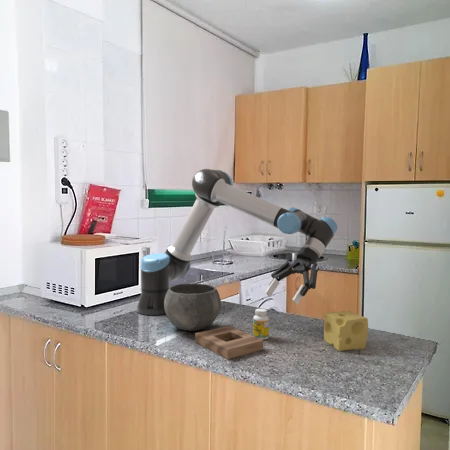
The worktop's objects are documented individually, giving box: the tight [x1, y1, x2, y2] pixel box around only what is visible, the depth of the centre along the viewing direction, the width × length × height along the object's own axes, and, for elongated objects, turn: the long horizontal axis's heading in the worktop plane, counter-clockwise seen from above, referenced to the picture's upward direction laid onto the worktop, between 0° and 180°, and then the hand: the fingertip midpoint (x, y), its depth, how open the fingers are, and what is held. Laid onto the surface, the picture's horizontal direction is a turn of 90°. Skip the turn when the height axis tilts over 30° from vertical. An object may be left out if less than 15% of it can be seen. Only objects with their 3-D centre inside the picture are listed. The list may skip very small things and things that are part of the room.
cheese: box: [323, 310, 369, 352], centre depth 138 cm, size 10×11×10 cm
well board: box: [194, 325, 264, 360], centre depth 137 cm, size 18×14×3 cm
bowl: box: [164, 283, 222, 332], centre depth 154 cm, size 20×20×15 cm
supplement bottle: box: [252, 308, 270, 341], centre depth 145 cm, size 5×5×10 cm
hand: (280, 298), depth 149 cm, fingers open, 13 cm apart
